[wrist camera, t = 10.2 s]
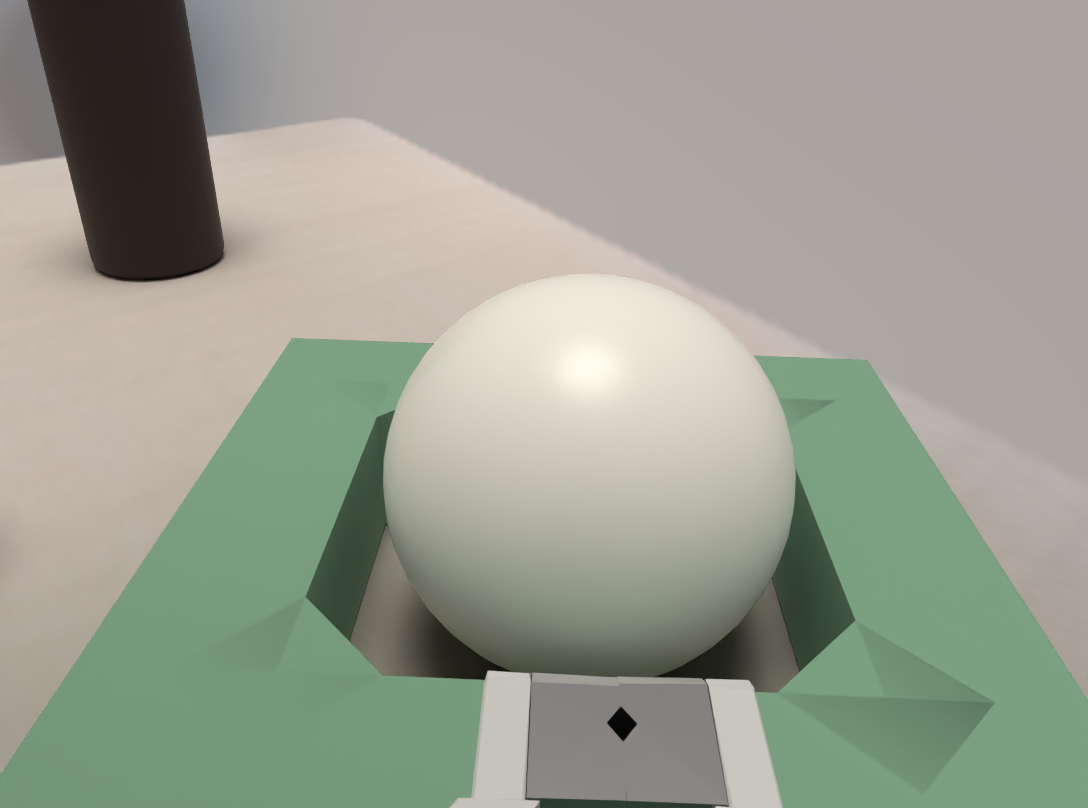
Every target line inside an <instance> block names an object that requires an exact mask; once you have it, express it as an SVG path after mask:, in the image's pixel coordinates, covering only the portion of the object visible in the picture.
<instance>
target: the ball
mask: <svg viewBox="0 0 1088 808" xmlns="http://www.w3.org/2000/svg"><path fill="white" fill-rule="evenodd" d="M795 481H796V472H795V462H794V453H793V446H792V442H791V437H790V433H789V429H788V425H787V421H786V418H785V414H784V411H783V409H782V406H781V404H780V402H779V399H778V397H777V394H776V392H775V390H774V388H773V386H772V384H771V383H770V381H769V379H768V378H767V376H766V374H765V373H764V371H763V369H762V368H761V366H760V364H759V363H758V361H757V360H756V359H755V357H754V356H753V355H752V354H751V352H750V351H749V350H748V349H747V347H746V346H745V345H744V344H743V342H742V341H741V340H740V339H739V338H738V337H737V336H736V335H735V334H734V333H732V332H731V331H730V330H729V329H728V328H727V327H726V326H725V325H724V324H723V323H722V322H721V321H720V320H718V319H717V318H716V317H714V316H713V315H712V314H710V313H709V312H707V311H706V310H704V309H703V308H702V307H700V306H699V305H697V304H696V303H694V302H692V301H690V300H688V299H686V298H684V297H682V296H680V295H678V294H676V293H674V292H672V291H671V290H668V289H666V288H663V287H660V286H657V285H654V284H651V283H648V282H645V281H641V280H638V279H634V278H629V277H623V276H615V275H607V274H571V275H559V276H553V277H548V278H544V279H540V280H536V281H533V282H529V283H525V284H522V285H519V286H516V287H514V288H512V289H510V290H507V291H505V292H503V293H500V294H498V295H496V296H494V297H492V298H490V299H488V300H487V301H485V302H484V303H482V304H480V305H479V306H477V307H476V308H474V309H472V310H471V311H469V312H468V313H467V314H465V315H464V316H463V317H462V318H461V319H459V320H458V321H457V322H456V323H455V324H453V325H452V326H451V327H450V328H449V329H448V330H446V331H445V332H444V333H443V334H442V335H441V337H440V338H439V339H438V340H437V341H436V342H435V343H434V344H433V346H432V347H431V348H430V349H429V350H428V351H427V353H426V354H425V355H424V357H423V358H422V360H421V361H420V363H419V364H418V366H417V367H416V369H415V370H414V372H413V373H412V375H411V376H410V378H409V380H408V382H407V384H406V386H405V388H404V390H403V392H402V394H401V396H400V398H399V401H398V403H397V406H396V410H395V413H394V416H393V419H392V422H391V425H390V429H389V432H388V437H387V443H386V449H385V455H384V467H383V491H384V501H385V509H386V517H387V523H388V527H389V530H390V534H391V537H392V541H393V545H394V547H395V550H396V553H397V555H398V558H399V560H400V562H401V564H402V567H403V569H404V571H405V573H406V576H407V578H408V580H409V581H410V583H411V584H412V586H413V587H414V589H415V590H416V592H417V593H418V595H419V596H420V598H421V599H422V601H423V602H424V604H425V605H426V607H427V608H428V610H429V611H430V612H431V613H432V614H433V615H434V616H435V617H436V618H437V619H438V620H439V621H440V623H441V624H442V625H443V626H444V627H445V628H446V629H447V630H448V631H449V632H450V633H451V634H452V635H453V636H454V637H456V638H457V639H458V640H460V641H461V642H462V643H464V644H465V645H466V646H468V647H469V648H471V649H472V650H473V651H475V652H476V653H477V654H479V655H480V656H482V657H483V658H485V659H487V660H489V661H490V662H492V663H494V664H496V665H498V666H500V667H503V668H505V669H507V670H510V671H512V672H520V673H531V679H532V673H549V674H566V675H582V676H599V677H616V678H617V676H618V677H655V676H658V675H661V674H664V673H667V672H669V671H671V670H674V669H676V668H678V667H680V666H682V665H684V664H686V663H687V662H689V661H691V660H692V659H694V658H696V657H697V656H699V655H701V654H702V653H704V652H706V651H707V650H709V649H711V648H712V647H713V646H714V645H715V644H717V643H718V642H719V641H720V640H721V639H723V638H724V637H725V636H726V635H727V634H728V633H729V632H730V631H731V630H733V629H734V628H735V627H736V626H737V625H738V624H739V623H740V622H741V621H742V619H743V618H744V617H745V616H746V614H747V613H748V612H749V611H750V609H751V608H752V607H753V606H754V604H755V603H756V602H757V600H758V599H759V598H760V597H761V595H762V594H763V592H764V590H765V589H766V587H767V585H768V583H769V581H770V579H771V578H772V576H773V574H774V572H775V570H776V568H777V566H778V563H779V561H780V559H781V556H782V553H783V550H784V547H785V545H786V542H787V539H788V536H789V531H790V525H791V520H792V515H793V509H794V502H795Z"/></svg>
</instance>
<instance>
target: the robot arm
mask: <svg viewBox="0 0 1088 808" xmlns="http://www.w3.org/2000/svg"><path fill="white" fill-rule="evenodd" d="M449 808H783V804H782V800H781V796H780V792H779V788H778V784H777V780H776V776H775V772H774V767H773V763H772V759H771V755H770V751H769V747H768V743H767V739H766V735H765V730H764V726H763V722H762V718H761V714H760V710H759V706H758V702H757V698H756V694H755V689H754V687H753V685H752V684H751V683H750V681H749V680H728V679H705V680H703V679H702V678H662V677H618V676H617V678H616V677H599V676H582V675H566V674H549V673H532V686H531V673H520V672H502V671H488V672H487V675H486V678H485V681H484V688H483V697H482V706H481V715H480V724H479V733H478V742H477V751H476V760H475V769H474V778H473V787H472V796H471V798H457V799H456V800H455V801H454V803H453V804H452V805H451V806H450V807H449Z"/></svg>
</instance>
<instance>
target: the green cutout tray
mask: <svg viewBox="0 0 1088 808" xmlns="http://www.w3.org/2000/svg"><path fill="white" fill-rule="evenodd" d="M433 344H434V343H408V342H382V341H356V340H330V339H303V338H292V339H291V341H290V342H289V344H288V345H287V347H286V348H285V350H284V351H283V353H282V354H281V356H280V357H279V359H278V360H277V362H276V363H275V365H274V366H273V368H272V369H271V371H270V372H269V374H268V375H267V377H266V378H265V380H264V381H263V383H262V384H261V386H260V387H259V389H258V390H257V392H256V393H255V395H254V396H253V398H252V399H251V401H250V402H249V404H248V405H247V407H246V408H245V410H244V411H243V413H242V414H241V416H240V417H239V419H238V420H237V422H236V423H235V425H234V426H233V428H232V429H231V431H230V432H229V434H228V435H227V437H226V438H225V440H224V441H223V443H222V444H221V446H220V447H219V449H218V450H217V451H216V453H215V454H214V456H213V457H212V459H211V460H210V462H209V463H208V465H207V466H206V468H205V469H204V471H203V472H202V474H201V475H200V477H199V478H198V480H197V481H196V483H195V484H194V486H193V487H192V489H191V490H190V492H189V493H188V495H187V496H186V498H185V499H184V501H183V502H182V504H181V505H180V507H179V508H178V510H177V511H176V513H175V514H174V516H173V517H172V519H171V520H170V522H169V523H168V525H167V526H166V528H165V529H164V531H163V532H162V534H161V535H160V537H159V538H158V540H157V541H156V543H155V544H154V546H153V547H152V549H151V550H150V552H149V553H148V555H147V556H146V558H145V559H144V561H143V562H142V564H141V565H140V567H139V568H138V570H137V571H136V573H135V574H134V576H133V577H132V579H131V580H130V582H129V583H128V585H127V586H126V588H125V589H124V591H123V592H122V594H121V595H120V597H119V598H118V600H117V601H116V603H115V604H114V606H113V607H112V609H111V610H110V612H109V613H108V615H107V616H106V618H105V619H104V621H103V622H102V624H101V625H100V627H99V628H98V630H97V631H96V633H95V634H94V636H93V637H92V639H91V640H90V642H89V643H88V645H87V646H86V648H85V649H84V651H83V652H82V654H81V655H80V657H79V658H78V659H77V661H76V662H75V664H74V665H73V667H72V668H71V670H70V671H69V673H68V674H67V676H66V677H65V679H64V680H63V682H62V683H61V685H60V686H59V688H58V689H57V691H56V692H55V694H54V695H53V697H52V698H51V700H50V701H49V703H48V704H47V706H46V707H45V709H44V710H43V712H42V713H41V715H40V716H39V718H38V719H37V721H36V722H35V724H34V725H33V727H32V728H31V730H30V731H29V733H28V734H27V736H26V737H25V739H24V740H23V742H22V743H21V745H20V746H19V748H18V749H17V751H16V752H15V754H14V755H13V757H12V758H11V760H10V761H9V763H8V764H7V766H6V767H5V769H4V770H3V772H2V773H1V775H0V808H449V807H450V806H451V805H452V804H453V803H454V801H455V800H456V799H457V798H471V796H472V787H473V778H474V769H475V760H476V751H477V742H478V733H479V724H480V715H481V706H482V697H483V688H484V681H485V680H475V679H452V678H430V677H407V676H384V675H382V674H381V673H380V672H379V671H378V670H377V669H376V668H375V667H374V666H373V665H372V664H371V663H370V662H369V661H368V660H367V659H366V658H365V657H364V656H363V655H362V654H361V653H360V652H359V651H358V650H357V649H356V648H355V647H354V646H353V645H352V644H351V643H350V641H349V640H350V636H351V633H352V630H353V627H354V624H355V620H356V617H357V614H358V611H359V608H360V604H361V601H362V598H363V595H364V592H365V588H366V585H367V582H368V579H369V576H370V572H371V569H372V566H373V563H374V560H375V556H376V553H377V550H378V547H379V544H380V540H381V537H382V534H383V531H384V528H385V524H388V523H387V517H386V509H385V501H384V491H383V467H384V455H385V449H386V443H387V437H388V432H389V429H390V425H391V422H392V419H393V416H394V413H395V410H396V406H397V403H398V401H399V398H400V396H401V394H402V392H403V390H404V388H405V386H406V384H407V382H408V380H409V378H410V376H411V375H412V373H413V372H414V370H415V369H416V367H417V366H418V364H419V363H420V361H421V360H422V358H423V357H424V355H425V354H426V353H427V351H428V350H429V349H430V348H431V347H432V346H433ZM754 357H755V359H756V360H757V361H758V363H759V364H760V366H761V368H762V369H763V371H764V373H765V374H766V376H767V378H768V379H769V381H770V383H771V384H772V386H773V388H774V390H775V392H776V394H777V397H778V399H779V402H780V404H781V406H782V409H783V411H784V414H785V418H786V421H787V425H788V429H789V433H790V437H791V442H792V446H793V453H794V462H795V472H796V481H795V502H794V509H793V515H792V520H791V525H790V531H789V536H788V539H787V542H786V545H785V547H784V550H783V553H782V556H781V559H780V561H779V563H778V566H777V568H776V570H775V572H774V574H773V576H772V578H773V582H774V585H775V589H776V592H777V595H778V599H779V602H780V606H781V609H782V612H783V616H784V619H785V623H786V626H787V629H788V633H789V636H790V640H791V643H792V646H793V650H794V653H795V657H796V660H797V663H798V667H799V670H800V672H799V673H798V674H797V675H796V676H795V677H794V678H793V679H792V680H790V681H789V682H788V683H787V684H786V685H785V686H784V687H783V688H782V689H781V690H780V691H779V692H778V693H768V692H755V694H756V698H757V702H758V706H759V710H760V714H761V718H762V722H763V726H764V730H765V735H766V739H767V743H768V747H769V751H770V755H771V759H772V763H773V767H774V772H775V776H776V780H777V784H778V788H779V792H780V796H781V800H782V804H783V808H1088V700H1087V698H1086V697H1085V695H1084V694H1083V692H1082V690H1081V689H1080V687H1079V686H1078V684H1077V683H1076V681H1075V680H1074V678H1073V677H1072V675H1071V673H1070V672H1069V670H1068V669H1067V667H1066V666H1065V664H1064V663H1063V661H1062V660H1061V658H1060V657H1059V655H1058V653H1057V652H1056V650H1055V649H1054V647H1053V646H1052V644H1051V643H1050V641H1049V640H1048V638H1047V636H1046V635H1045V633H1044V632H1043V630H1042V629H1041V627H1040V626H1039V624H1038V623H1037V621H1036V619H1035V618H1034V616H1033V615H1032V613H1031V612H1030V610H1029V609H1028V607H1027V606H1026V604H1025V603H1024V601H1023V599H1022V598H1021V596H1020V595H1019V593H1018V592H1017V590H1016V589H1015V587H1014V586H1013V584H1012V582H1011V581H1010V579H1009V578H1008V576H1007V575H1006V573H1005V572H1004V570H1003V569H1002V567H1001V566H1000V564H999V562H998V561H997V559H996V558H995V556H994V555H993V553H992V552H991V550H990V549H989V547H988V545H987V544H986V542H985V541H984V539H983V538H982V536H981V535H980V533H979V532H978V530H977V529H976V527H975V525H974V524H973V522H972V521H971V519H970V518H969V516H968V515H967V513H966V512H965V510H964V508H963V507H962V505H961V504H960V502H959V501H958V499H957V498H956V496H955V495H954V493H953V491H952V490H951V488H950V487H949V485H948V484H947V482H946V481H945V479H944V478H943V476H942V475H941V473H940V471H939V470H938V468H937V467H936V465H935V464H934V462H933V461H932V459H931V458H930V456H929V454H928V453H927V451H926V450H925V448H924V447H923V445H922V444H921V442H920V441H919V439H918V438H917V436H916V434H915V433H914V431H913V430H912V428H911V427H910V425H909V424H908V422H907V421H906V419H905V417H904V416H903V414H902V413H901V411H900V410H899V408H898V407H897V405H896V404H895V402H894V400H893V399H892V397H891V396H890V394H889V393H888V391H887V390H886V388H885V387H884V385H883V384H882V382H881V380H880V379H879V377H878V376H877V374H876V373H875V371H874V370H873V368H872V367H871V365H870V364H869V362H868V360H851V359H828V358H801V357H775V356H754ZM531 686H532V682H531Z"/></svg>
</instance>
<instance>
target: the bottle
mask: <svg viewBox="0 0 1088 808" xmlns="http://www.w3.org/2000/svg"><path fill="white" fill-rule="evenodd" d="M27 1H28V5H29V9H30V13H31V17H32V21H33V25H34V29H35V33H36V37H37V41H38V45H39V49H40V54H41V58H42V61H43V66H44V70H45V74H46V78H47V82H48V86H49V90H50V94H51V98H52V102H53V106H54V110H55V115H56V119H57V122H58V127H59V131H60V135H61V139H62V143H63V147H64V151H65V155H66V159H67V163H68V167H69V171H70V176H71V180H72V184H73V188H74V192H75V196H76V200H77V204H78V208H79V212H80V216H81V220H82V224H83V228H84V232H85V237H86V241H87V245H88V249H89V253H90V257H91V259H92V261H93V264H94V265H95V267H96V268H97V269H99V270H100V271H102V272H104V273H106V274H108V275H111V276H116V277H121V278H129V279H154V278H166V277H172V276H178V275H183V274H187V273H190V272H194V271H197V270H200V269H202V268H205V267H207V266H209V265H211V264H213V263H214V262H215V261H216V260H217V259H218V258H220V256H221V255H222V253H223V248H224V240H223V234H222V228H221V222H220V216H219V210H218V204H217V198H216V192H215V186H214V180H213V173H212V167H211V161H210V155H209V149H208V143H207V137H206V131H205V125H204V119H203V113H202V107H201V101H200V94H199V88H198V82H197V76H196V70H195V64H194V58H193V52H192V46H191V39H190V33H189V27H188V21H187V15H186V9H185V3H184V0H27Z"/></svg>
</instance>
